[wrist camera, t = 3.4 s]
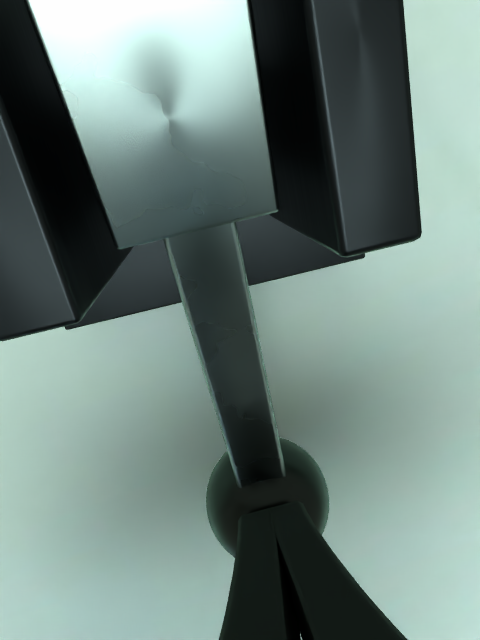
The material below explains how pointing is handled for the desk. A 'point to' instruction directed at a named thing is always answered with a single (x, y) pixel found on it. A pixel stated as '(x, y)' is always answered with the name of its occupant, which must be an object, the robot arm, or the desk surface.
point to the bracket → (254, 234)
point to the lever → (187, 201)
